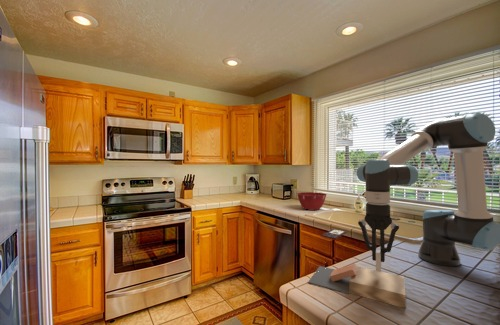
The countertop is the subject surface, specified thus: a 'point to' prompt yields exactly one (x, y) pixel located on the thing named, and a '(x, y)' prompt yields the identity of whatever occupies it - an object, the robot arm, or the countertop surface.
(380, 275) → the board
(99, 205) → the countertop surface
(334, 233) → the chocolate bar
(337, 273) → the tile
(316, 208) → the mixing bowl
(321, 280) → the mat
